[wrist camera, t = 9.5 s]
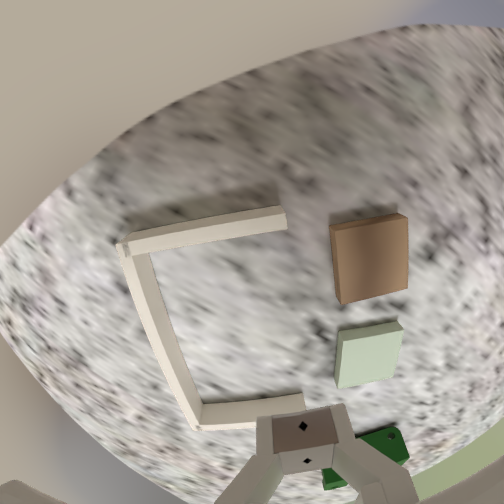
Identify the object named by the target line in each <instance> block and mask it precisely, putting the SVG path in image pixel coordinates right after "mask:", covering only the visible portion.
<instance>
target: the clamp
mask: <svg viewBox="0 0 504 504" xmlns="http://www.w3.org/2000/svg"><path fill="white" fill-rule="evenodd" d="M358 438H360V439H362V440H363V441H365V442H366V443H367V444H369V445H370V446H372V447H373V448H375V449H376V450H378V451H379V452H381V453H382V454H384V455H385V456H387V457H388V458H390V459H391V460H393V461H394V462H396V463H397V464H399V465H400V466H401V465H402V464H404V463H405V462H406V461H407V460H408V459H409V458H410V456H409V453H408V451H407V448H406V445H405V443H404V440H403V437H402V434H401V432H400V430H399V429H398V428H396V427H389V428H386V429H383V430H380V431H377V432H374V433H371V434H368V435H365V436H361V437H358ZM358 438H355V439H358ZM388 438H391V439H388ZM321 471H322V475H323V481H322V483H323V488H324V490H332V489H336V488H340V487H343V486H347V484H348V483H347V482H346V481H345V480H344V479H343V478H342V477H341V476H339V475H338V474H337V473H336V472H335V471H334V470H333V469H332V467H331V468H325V469H321Z"/></svg>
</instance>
